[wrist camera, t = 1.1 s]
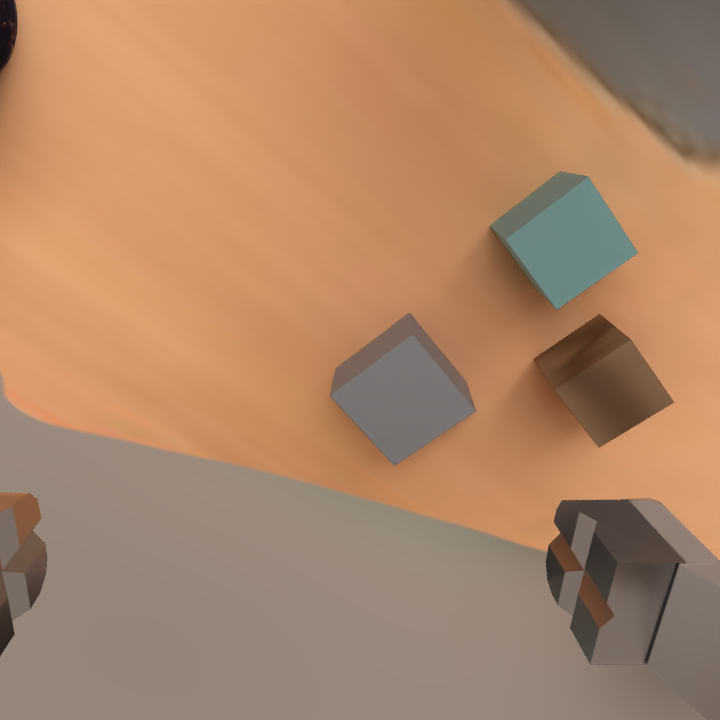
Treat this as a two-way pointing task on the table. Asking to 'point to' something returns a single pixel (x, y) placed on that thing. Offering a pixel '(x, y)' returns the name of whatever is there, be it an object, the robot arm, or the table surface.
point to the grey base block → (401, 390)
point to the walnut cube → (603, 380)
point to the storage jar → (7, 30)
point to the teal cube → (564, 237)
